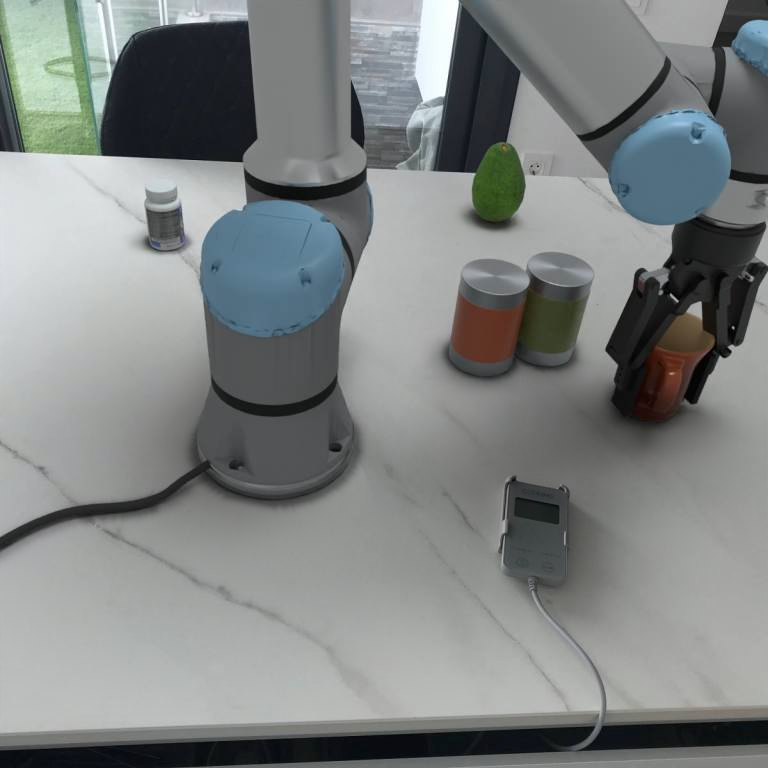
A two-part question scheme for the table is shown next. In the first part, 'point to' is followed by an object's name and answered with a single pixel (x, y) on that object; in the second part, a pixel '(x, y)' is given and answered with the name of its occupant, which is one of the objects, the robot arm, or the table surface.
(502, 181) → the fruit
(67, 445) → the table surface
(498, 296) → the tins
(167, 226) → the pill bottle
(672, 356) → the mug
